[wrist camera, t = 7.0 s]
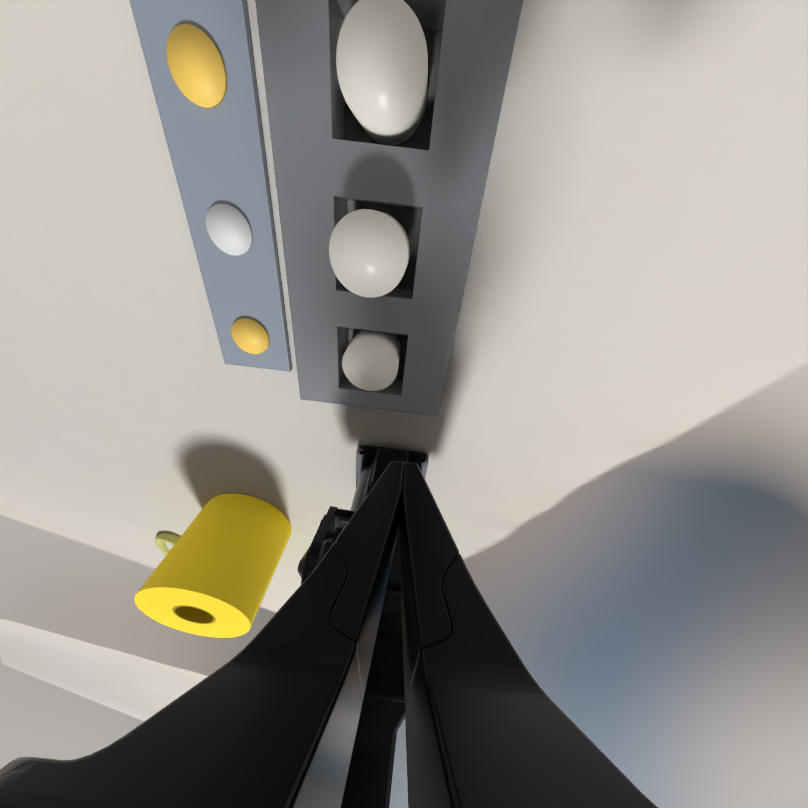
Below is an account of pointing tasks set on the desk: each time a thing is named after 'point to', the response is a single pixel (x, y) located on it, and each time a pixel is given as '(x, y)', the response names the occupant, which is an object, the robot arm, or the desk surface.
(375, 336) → the button
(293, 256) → the button panel
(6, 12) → the desk surface
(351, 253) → the button middle
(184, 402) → the desk surface
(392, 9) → the button
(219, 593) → the yellow cylinder with hole
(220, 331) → the pattern card
